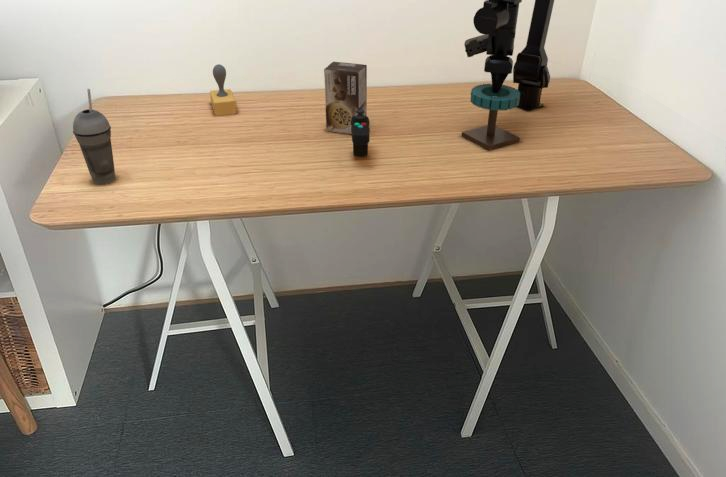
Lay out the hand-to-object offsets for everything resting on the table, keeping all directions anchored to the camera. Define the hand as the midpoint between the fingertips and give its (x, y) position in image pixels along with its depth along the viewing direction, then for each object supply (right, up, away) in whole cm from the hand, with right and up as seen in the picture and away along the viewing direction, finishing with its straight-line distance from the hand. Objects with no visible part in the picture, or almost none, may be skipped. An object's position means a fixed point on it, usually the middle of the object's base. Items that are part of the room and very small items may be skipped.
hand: (495, 91), depth 151 cm
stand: (-1, -11, +2) cm, 12 cm away
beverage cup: (-88, -24, -19) cm, 93 cm away
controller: (-33, -17, -8) cm, 38 cm away
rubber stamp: (-70, -1, +18) cm, 73 cm away
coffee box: (-37, -8, +6) cm, 38 cm away
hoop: (-1, -3, -3) cm, 5 cm away
